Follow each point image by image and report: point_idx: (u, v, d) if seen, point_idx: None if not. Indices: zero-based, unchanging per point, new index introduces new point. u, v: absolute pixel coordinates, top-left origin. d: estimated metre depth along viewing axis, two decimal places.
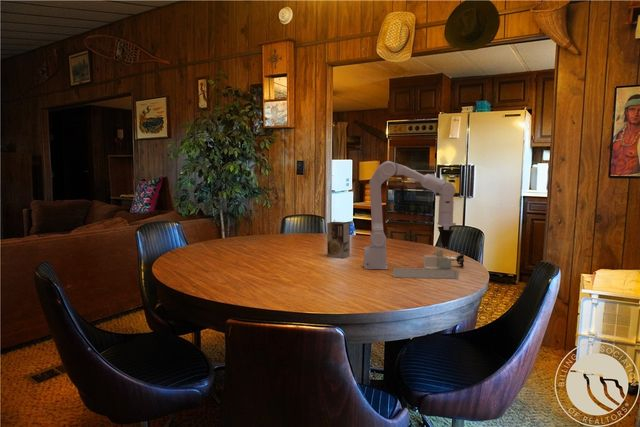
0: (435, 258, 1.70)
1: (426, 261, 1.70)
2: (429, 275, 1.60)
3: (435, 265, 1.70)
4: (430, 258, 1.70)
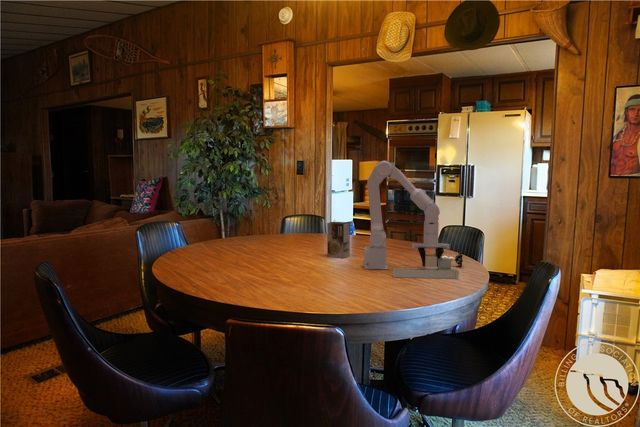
0: (435, 258, 1.70)
1: (426, 261, 1.70)
2: (429, 275, 1.60)
3: (435, 265, 1.70)
4: (430, 258, 1.70)
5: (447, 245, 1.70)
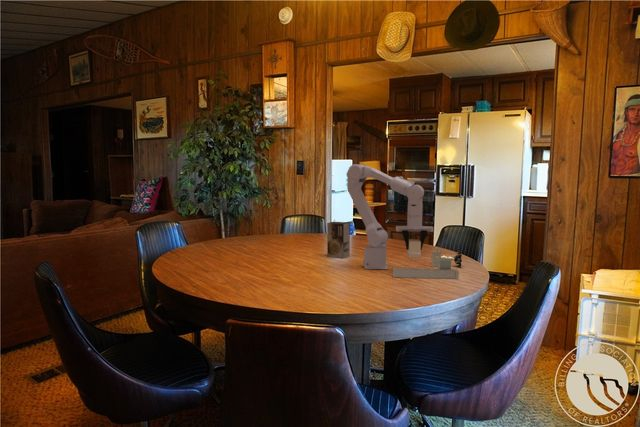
0: (419, 243, 1.67)
1: (410, 246, 1.68)
2: (429, 275, 1.60)
3: (418, 250, 1.68)
4: (414, 243, 1.67)
5: (431, 228, 1.68)
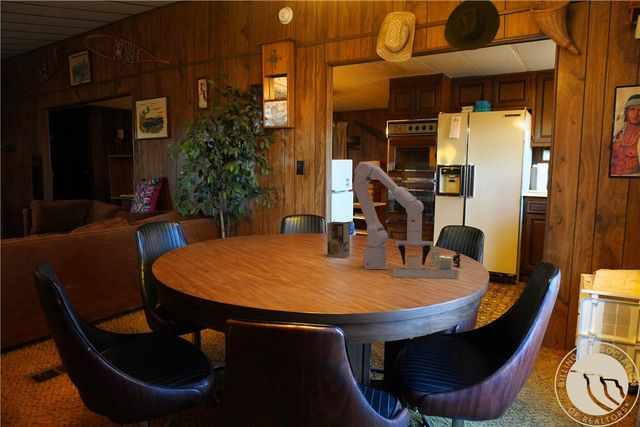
0: (418, 259, 1.68)
1: (409, 262, 1.68)
2: (429, 275, 1.60)
3: (418, 266, 1.68)
4: (413, 259, 1.68)
5: (430, 243, 1.68)
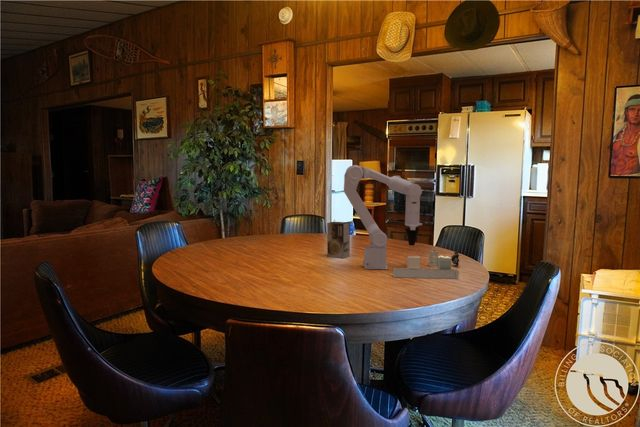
0: (418, 259, 1.68)
1: (409, 262, 1.68)
2: (429, 275, 1.60)
3: (418, 266, 1.68)
4: (413, 259, 1.68)
5: None
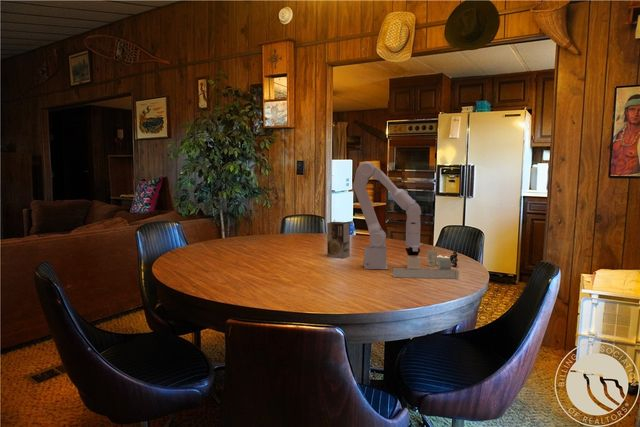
0: (418, 259, 1.68)
1: (409, 262, 1.68)
2: (429, 275, 1.60)
3: (418, 266, 1.68)
4: (413, 259, 1.68)
5: None
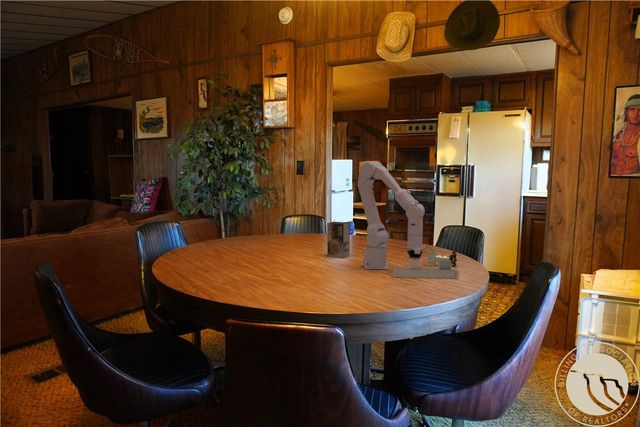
0: (421, 262, 1.63)
1: (411, 265, 1.63)
2: (429, 275, 1.60)
3: None
4: (415, 262, 1.63)
5: None
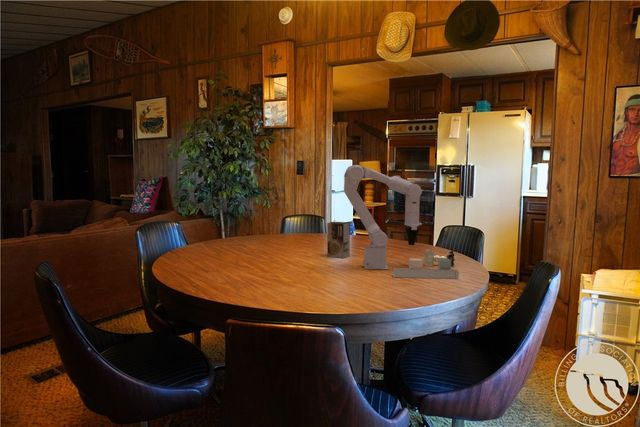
0: (420, 262, 1.63)
1: (411, 265, 1.63)
2: (429, 275, 1.60)
3: None
4: (415, 262, 1.63)
5: None
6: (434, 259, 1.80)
